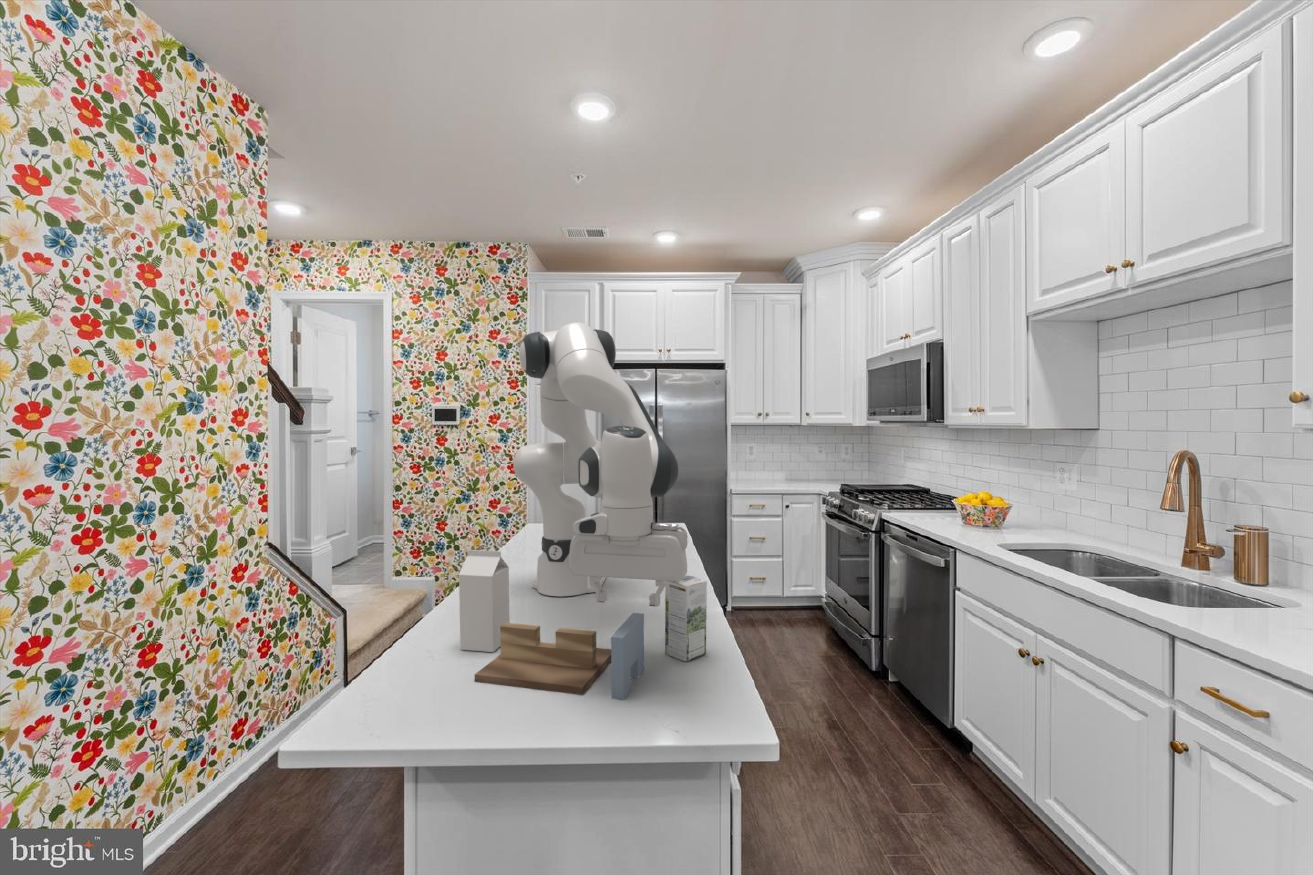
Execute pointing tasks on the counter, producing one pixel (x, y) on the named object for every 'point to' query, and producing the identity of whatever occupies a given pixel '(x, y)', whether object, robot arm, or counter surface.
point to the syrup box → (685, 618)
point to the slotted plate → (627, 654)
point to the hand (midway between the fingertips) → (628, 603)
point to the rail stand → (546, 660)
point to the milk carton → (483, 600)
